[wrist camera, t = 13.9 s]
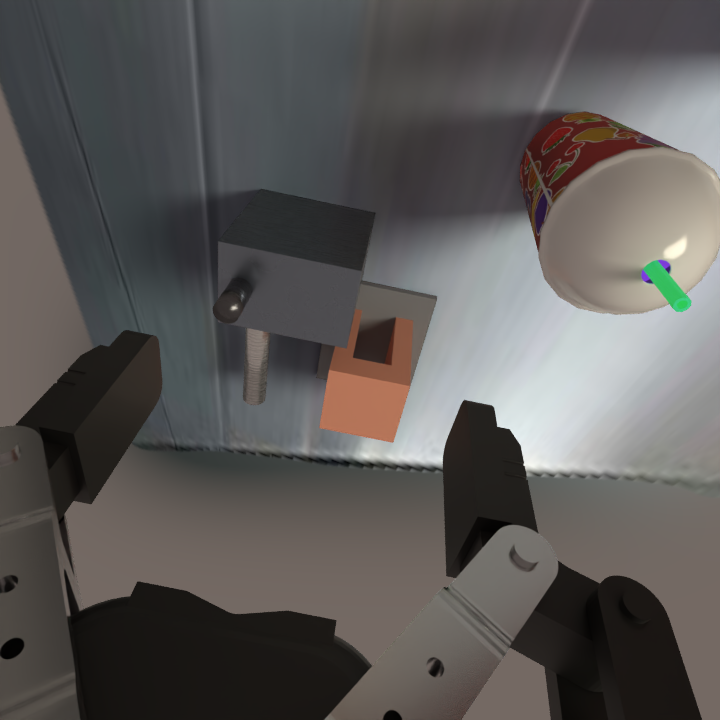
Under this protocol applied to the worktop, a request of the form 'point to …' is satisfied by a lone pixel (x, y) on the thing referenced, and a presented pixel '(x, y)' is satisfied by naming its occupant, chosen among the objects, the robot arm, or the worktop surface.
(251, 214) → the vise block
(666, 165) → the smoothie
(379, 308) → the mat
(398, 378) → the notched orange block
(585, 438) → the worktop surface
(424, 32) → the worktop surface
